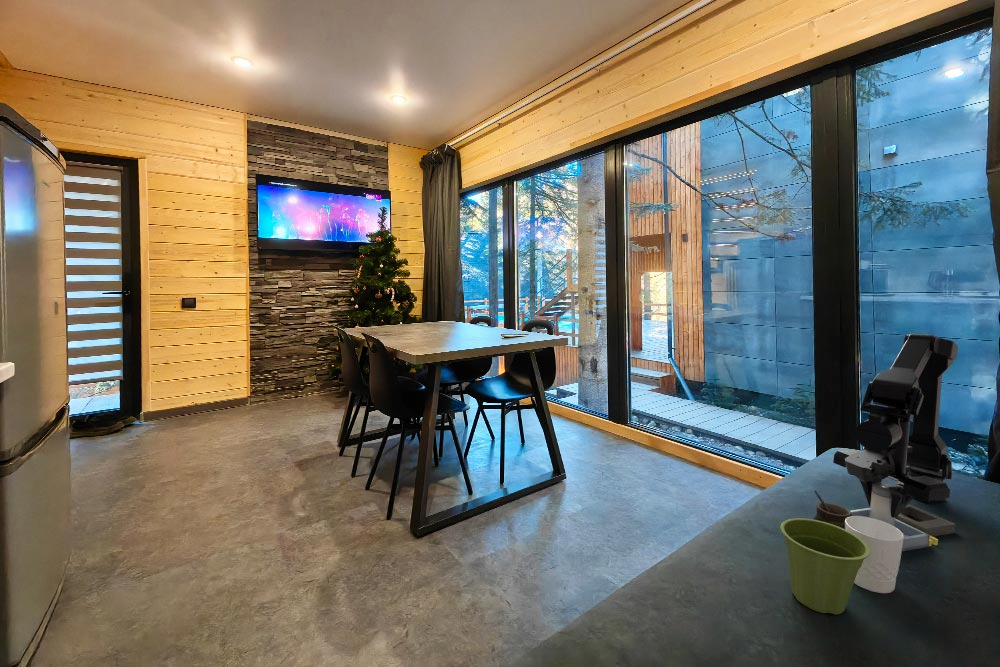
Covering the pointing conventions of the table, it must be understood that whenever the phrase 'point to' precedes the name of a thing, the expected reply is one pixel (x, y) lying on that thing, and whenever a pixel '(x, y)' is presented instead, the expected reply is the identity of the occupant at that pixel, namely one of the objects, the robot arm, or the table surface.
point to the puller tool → (933, 541)
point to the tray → (911, 534)
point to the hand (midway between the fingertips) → (882, 511)
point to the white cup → (877, 553)
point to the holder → (926, 521)
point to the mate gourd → (831, 513)
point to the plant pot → (822, 563)
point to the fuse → (881, 503)
